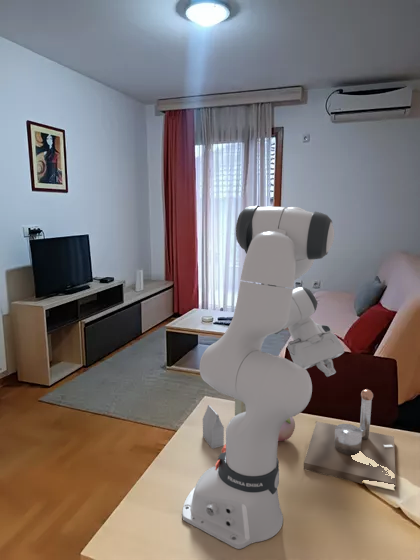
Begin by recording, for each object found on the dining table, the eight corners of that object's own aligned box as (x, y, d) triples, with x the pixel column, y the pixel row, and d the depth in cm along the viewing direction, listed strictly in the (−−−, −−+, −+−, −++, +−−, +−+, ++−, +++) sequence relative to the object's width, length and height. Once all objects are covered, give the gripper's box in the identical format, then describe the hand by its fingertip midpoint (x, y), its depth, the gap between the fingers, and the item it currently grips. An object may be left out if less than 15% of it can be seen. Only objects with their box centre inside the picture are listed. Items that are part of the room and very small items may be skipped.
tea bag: (212, 448, 117) (211, 416, 115) (202, 436, 123) (202, 405, 121) (223, 445, 118) (223, 413, 116) (214, 433, 124) (213, 403, 122)
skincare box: (241, 423, 129) (242, 388, 127) (234, 417, 133) (234, 382, 131) (257, 418, 133) (258, 383, 130) (249, 412, 136) (250, 378, 134)
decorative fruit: (301, 441, 120) (302, 409, 118) (283, 452, 115) (284, 419, 113) (275, 428, 127) (276, 398, 125) (258, 438, 121) (258, 407, 119)
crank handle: (351, 458, 108) (354, 407, 105) (329, 445, 114) (331, 397, 111) (378, 440, 116) (382, 392, 113) (356, 429, 121) (359, 384, 119)
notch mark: (384, 447, 113) (384, 446, 113) (383, 445, 114) (383, 444, 114) (393, 447, 113) (393, 446, 113) (391, 445, 114) (391, 444, 114)
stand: (303, 469, 107) (303, 462, 107) (316, 427, 127) (316, 421, 127) (395, 491, 99) (395, 484, 98) (393, 442, 119) (394, 436, 118)
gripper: (290, 337, 122) (315, 379, 116) (333, 324, 134) (357, 362, 128) (279, 347, 126) (303, 388, 120) (321, 334, 138) (344, 370, 132)
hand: (331, 374), depth 124 cm, fingers closed
